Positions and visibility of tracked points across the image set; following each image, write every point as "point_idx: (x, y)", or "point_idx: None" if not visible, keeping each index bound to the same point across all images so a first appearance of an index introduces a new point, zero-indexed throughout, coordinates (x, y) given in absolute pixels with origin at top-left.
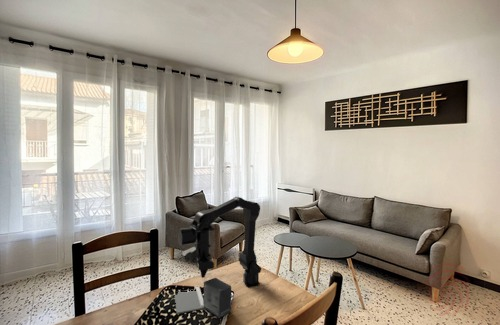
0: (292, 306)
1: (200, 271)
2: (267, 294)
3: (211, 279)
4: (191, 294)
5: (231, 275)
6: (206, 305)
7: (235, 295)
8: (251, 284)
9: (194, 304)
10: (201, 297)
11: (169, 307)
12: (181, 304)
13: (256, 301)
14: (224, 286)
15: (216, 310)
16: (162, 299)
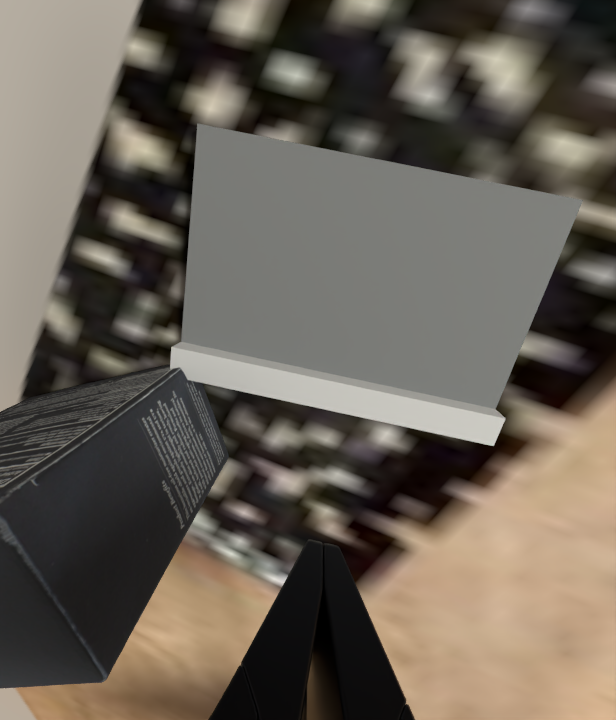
0: (39, 705)
1: (336, 644)
2: (178, 695)
3: (44, 626)
4: (425, 344)
5: (517, 683)
6: (133, 379)
7: (248, 583)
8: (304, 703)
9: (253, 312)
10: (290, 393)
11: (341, 85)
12: (309, 207)
13: (136, 628)
14: None
15: (13, 411)
16: (547, 39)
